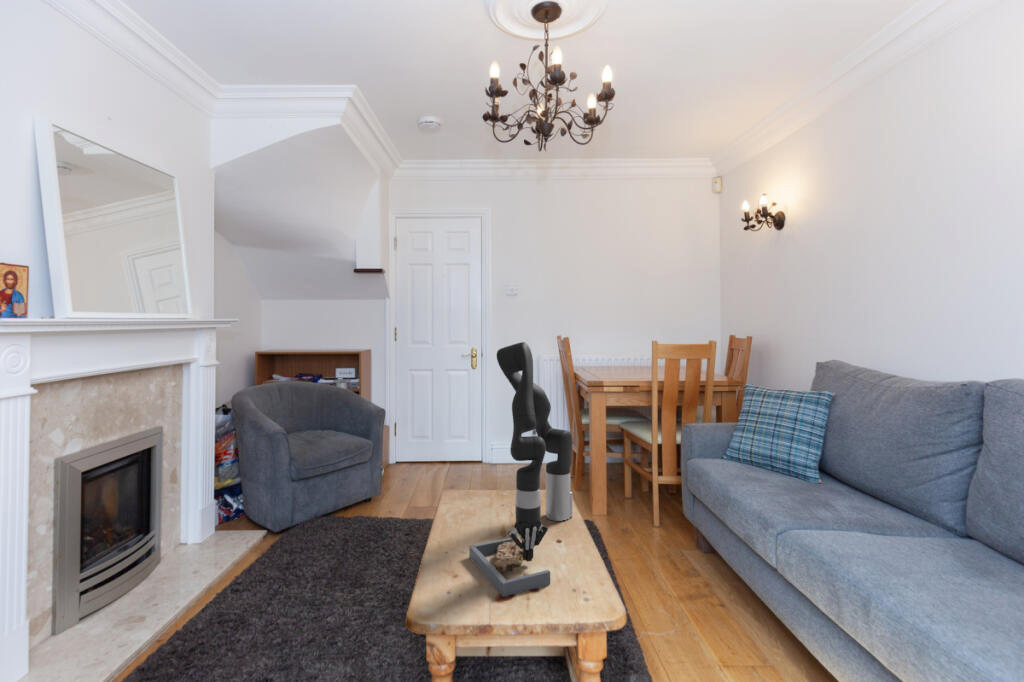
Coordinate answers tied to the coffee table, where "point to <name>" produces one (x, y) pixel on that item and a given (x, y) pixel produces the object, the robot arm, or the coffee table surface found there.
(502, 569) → the rock
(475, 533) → the coffee table surface
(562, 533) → the coffee table surface
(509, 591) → the bracket
